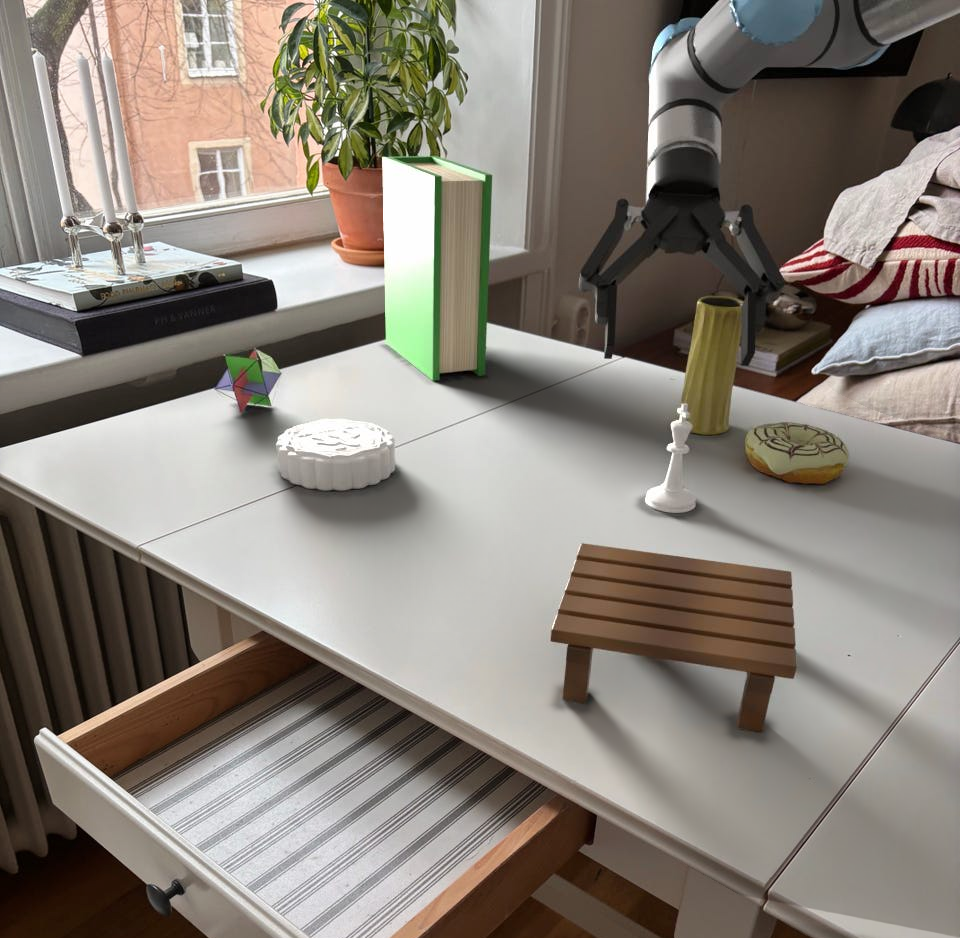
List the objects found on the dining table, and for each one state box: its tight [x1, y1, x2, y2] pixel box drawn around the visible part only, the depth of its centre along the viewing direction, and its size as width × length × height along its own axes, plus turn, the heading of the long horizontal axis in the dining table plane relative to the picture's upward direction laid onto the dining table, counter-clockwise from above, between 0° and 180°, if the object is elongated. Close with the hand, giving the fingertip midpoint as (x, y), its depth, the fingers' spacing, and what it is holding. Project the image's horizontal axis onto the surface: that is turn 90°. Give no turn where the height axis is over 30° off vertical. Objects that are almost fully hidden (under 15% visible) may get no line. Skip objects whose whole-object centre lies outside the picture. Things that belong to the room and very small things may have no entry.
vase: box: [676, 295, 744, 436], centre depth 112 cm, size 6×6×14 cm
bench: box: [550, 542, 798, 733], centre depth 72 cm, size 16×14×6 cm
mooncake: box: [275, 418, 396, 492], centre depth 101 cm, size 12×12×4 cm
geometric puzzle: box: [213, 347, 283, 415], centre depth 115 cm, size 7×7×8 cm
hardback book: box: [382, 155, 493, 382], centre depth 129 cm, size 18×7×24 cm, turn 24°
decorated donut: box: [744, 421, 850, 485], centre depth 105 cm, size 10×11×4 cm
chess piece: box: [644, 403, 697, 514], centre depth 95 cm, size 5×5×10 cm
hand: (678, 356), depth 97 cm, fingers open, 13 cm apart
